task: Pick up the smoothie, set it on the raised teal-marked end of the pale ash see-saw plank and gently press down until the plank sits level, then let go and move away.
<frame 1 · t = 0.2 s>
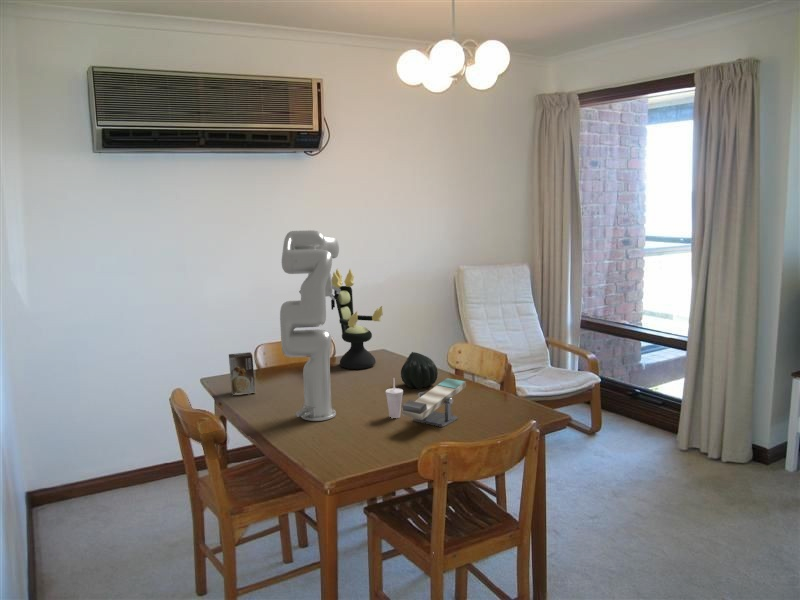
hand: (320, 309, 279), 31 cm above the table, tool pointing down, fingers open, 9 cm apart
smoothie: (394, 417, 237), on the table
coffee box: (243, 393, 269), on the table
beam: (434, 395, 231), point 9 cm above the table, hinge at -8.0°
squash: (419, 386, 274), on the table
pivot stand: (435, 419, 233), on the table
toy throne chair: (353, 365, 310), on the table
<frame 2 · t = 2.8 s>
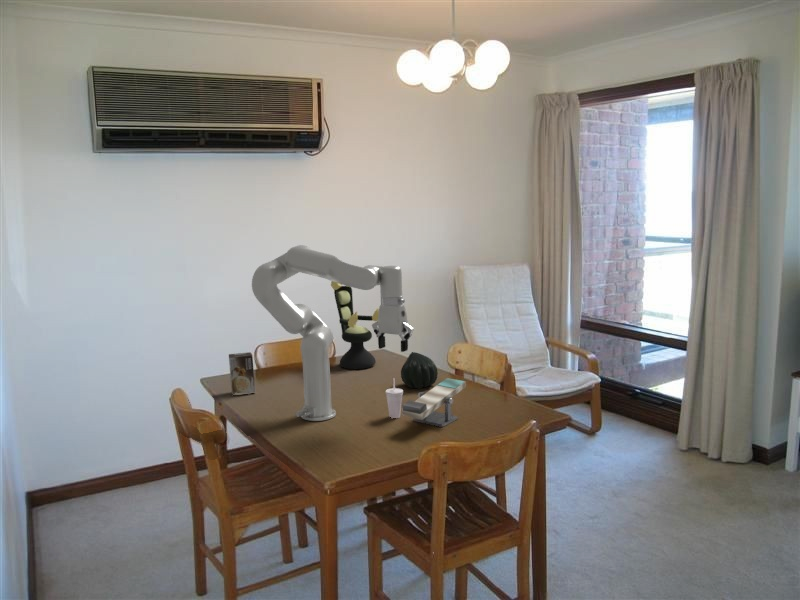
hand: (393, 349, 234), 25 cm above the table, tool pointing down, fingers open, 9 cm apart
nothing on the table moved.
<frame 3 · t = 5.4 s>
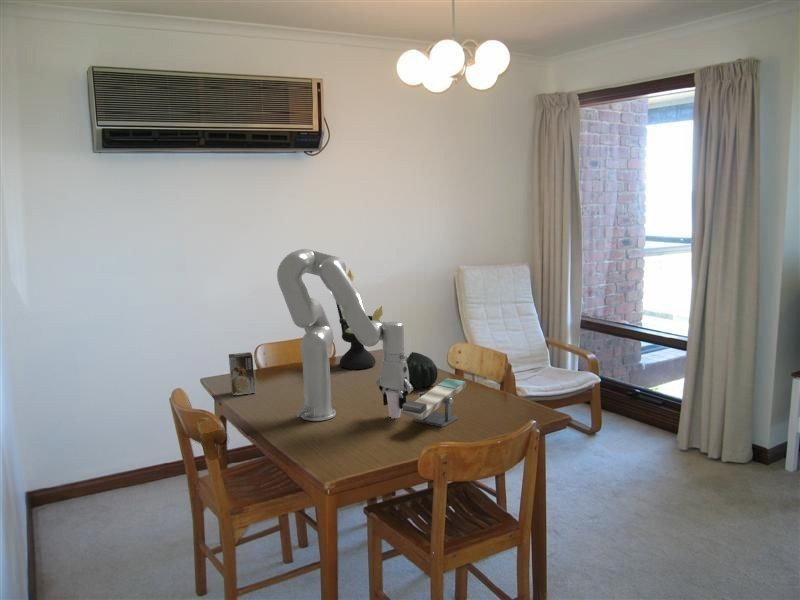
hand: (394, 405, 236), 4 cm above the table, tool pointing down, fingers closed on smoothie, 6 cm apart
smoothie: (394, 417, 237), on the table, touching gripper
everything else where it was.
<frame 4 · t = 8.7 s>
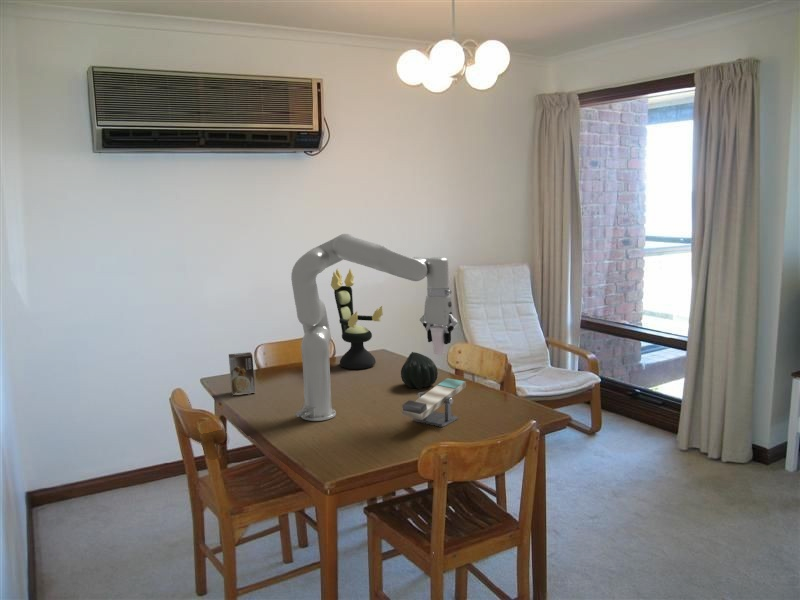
hand: (439, 341, 237), 26 cm above the table, tool pointing down, fingers closed on smoothie, 6 cm apart
smoothie: (439, 353, 237), point 22 cm above the table, touching gripper
everything else where it was.
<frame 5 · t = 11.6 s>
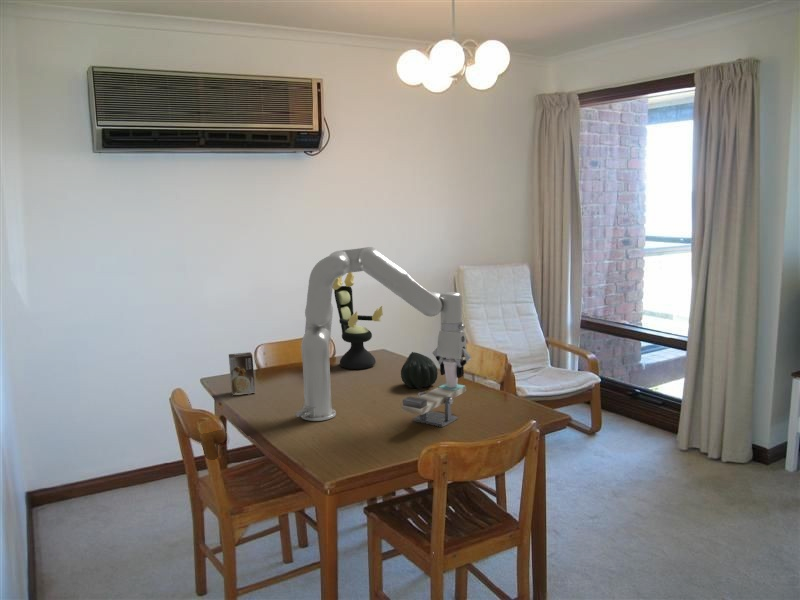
hand: (451, 375, 240), 14 cm above the table, tool pointing down, fingers closed on smoothie, 6 cm apart
smoothie: (451, 386, 241), point 9 cm above the table, touching beam, gripper
beam: (435, 395, 232), point 9 cm above the table, hinge at -1.0°, touching smoothie
everything else where it was.
when the fingers open (14 cm above the table, at t = 11.9 s): smoothie stays where it is, resting on beam.
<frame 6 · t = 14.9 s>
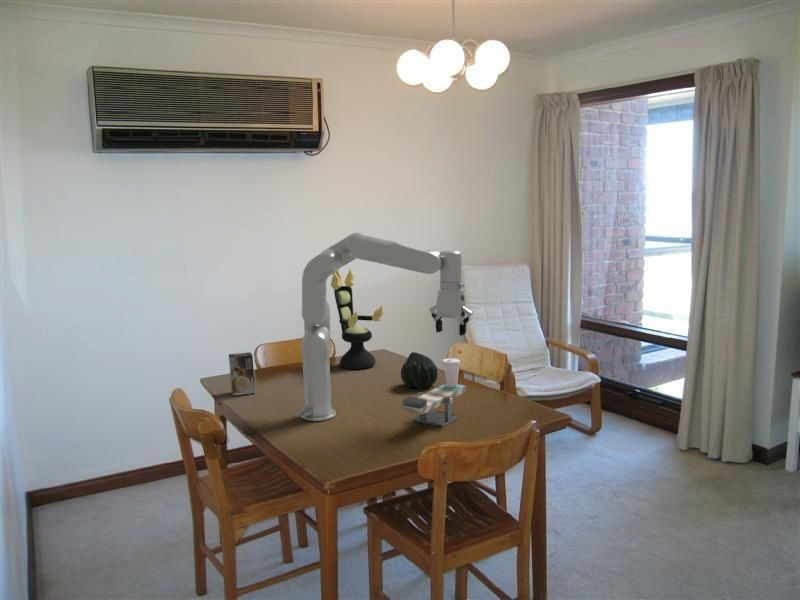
hand: (450, 333, 237), 29 cm above the table, tool pointing down, fingers open, 9 cm apart
smoothie: (451, 386, 241), point 9 cm above the table, touching beam
everything else where it was.
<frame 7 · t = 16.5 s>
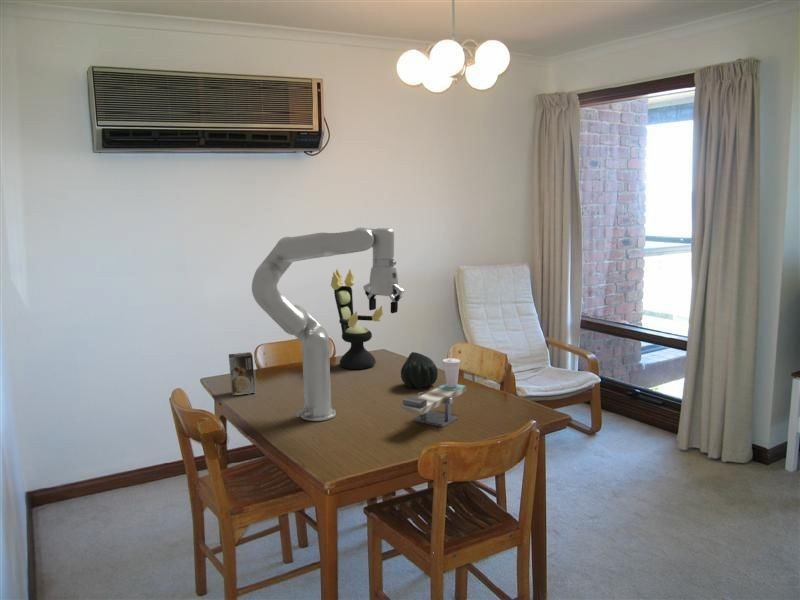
hand: (383, 311, 237), 37 cm above the table, tool pointing down, fingers open, 9 cm apart
nothing on the table moved.
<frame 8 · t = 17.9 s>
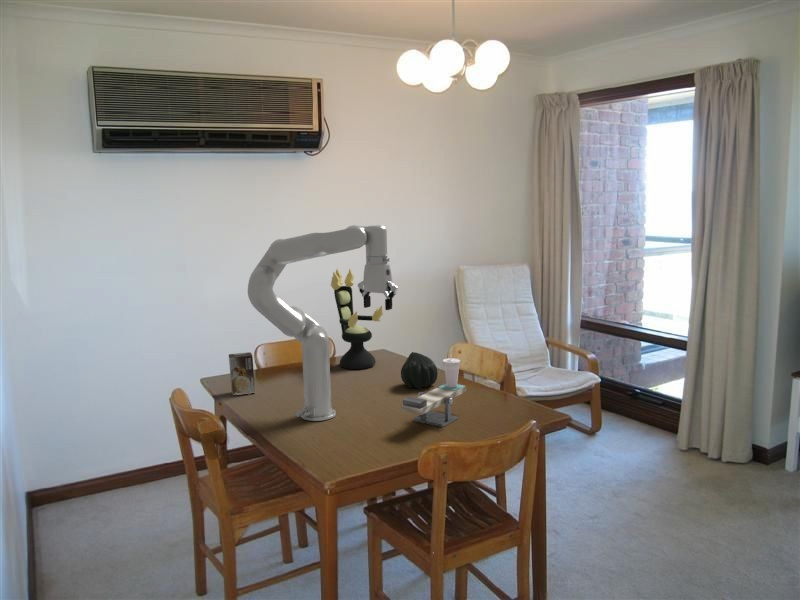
hand: (377, 308, 237), 38 cm above the table, tool pointing down, fingers open, 9 cm apart
nothing on the table moved.
at the end: beam at -1° (first picture: -8°); smoothie touching beam; smoothie tilted 1° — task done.
